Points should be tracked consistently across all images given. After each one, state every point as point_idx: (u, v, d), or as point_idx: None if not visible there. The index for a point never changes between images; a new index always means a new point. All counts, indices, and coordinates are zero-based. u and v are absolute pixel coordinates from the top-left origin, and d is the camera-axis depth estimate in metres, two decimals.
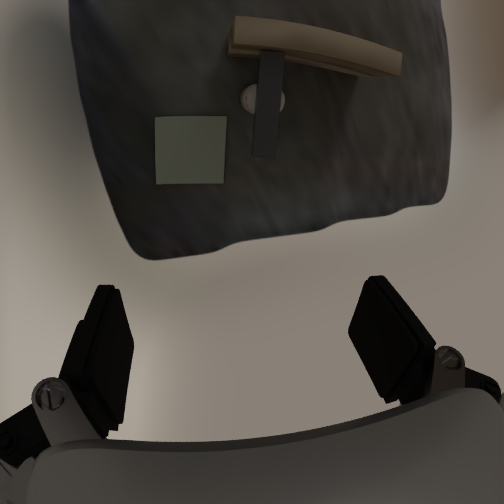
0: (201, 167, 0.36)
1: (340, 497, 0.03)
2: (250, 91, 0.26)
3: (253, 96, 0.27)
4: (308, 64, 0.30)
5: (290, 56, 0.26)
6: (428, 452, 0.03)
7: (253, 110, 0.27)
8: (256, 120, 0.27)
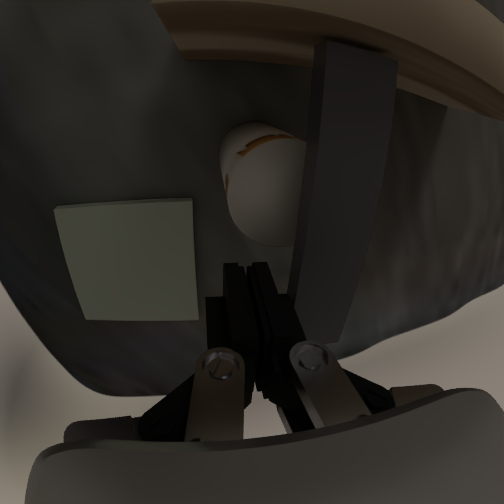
0: (154, 297, 0.19)
1: (340, 497, 0.03)
2: (237, 172, 0.09)
3: (248, 186, 0.09)
4: None
5: None
6: (428, 452, 0.03)
7: (248, 228, 0.10)
8: (302, 273, 0.10)
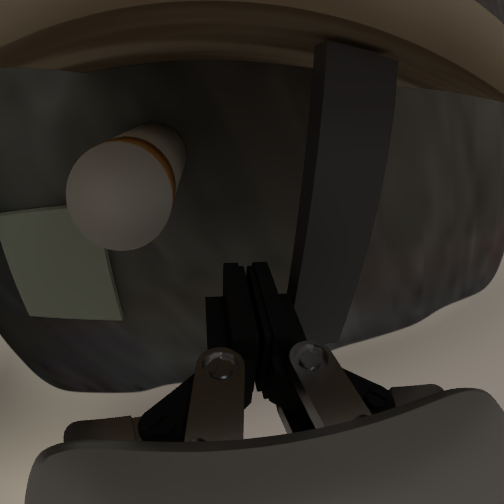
0: (79, 297, 0.18)
1: (340, 497, 0.03)
2: (70, 181, 0.08)
3: (80, 194, 0.09)
4: (270, 60, 0.12)
5: (195, 41, 0.08)
6: (428, 452, 0.03)
7: (90, 233, 0.09)
8: (302, 273, 0.10)
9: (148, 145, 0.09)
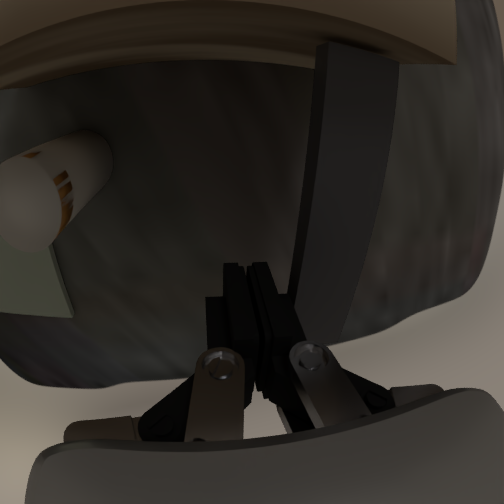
0: (34, 294, 0.17)
1: (340, 497, 0.03)
2: None
3: None
4: (185, 57, 0.12)
5: (83, 53, 0.07)
6: (428, 452, 0.03)
7: (7, 237, 0.09)
8: (303, 273, 0.10)
9: (44, 157, 0.08)
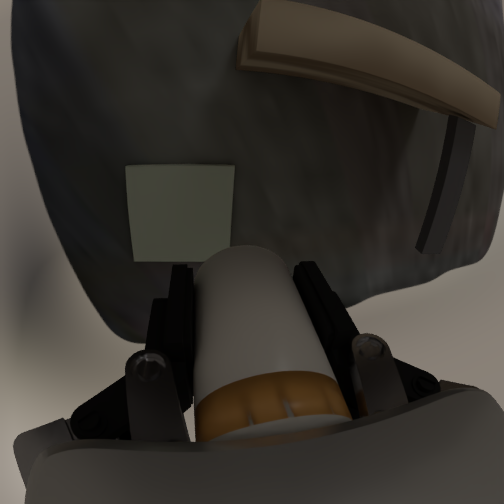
0: (197, 240, 0.26)
1: (340, 497, 0.03)
2: None
3: None
4: (359, 88, 0.20)
5: (344, 78, 0.16)
6: (428, 452, 0.03)
7: None
8: (437, 210, 0.18)
9: (329, 390, 0.06)
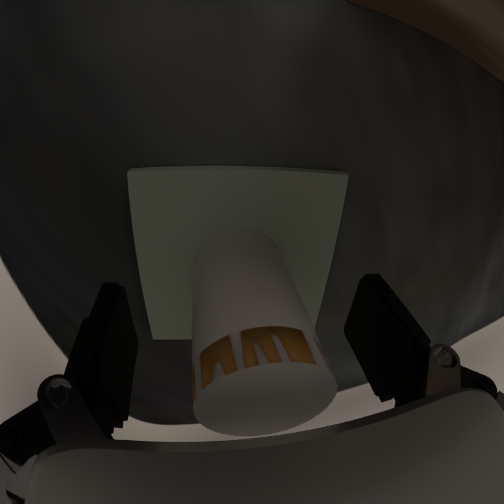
0: None
1: (340, 497, 0.03)
2: (203, 397, 0.06)
3: (218, 407, 0.07)
4: (501, 73, 0.09)
5: None
6: (428, 452, 0.03)
7: (222, 429, 0.07)
8: None
9: (310, 345, 0.07)
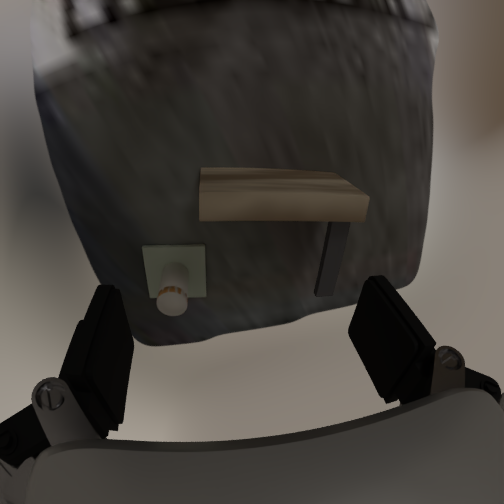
0: None
1: (340, 497, 0.03)
2: (158, 299, 0.35)
3: (161, 302, 0.35)
4: None
5: None
6: (428, 452, 0.03)
7: (163, 311, 0.36)
8: (322, 273, 0.35)
9: (179, 290, 0.36)
